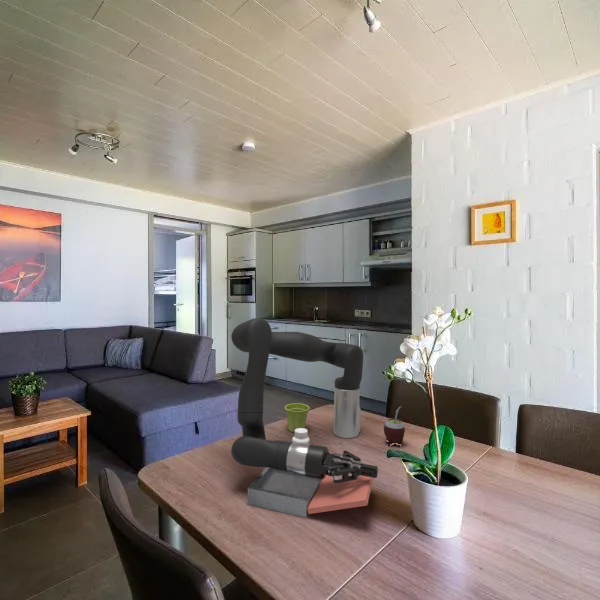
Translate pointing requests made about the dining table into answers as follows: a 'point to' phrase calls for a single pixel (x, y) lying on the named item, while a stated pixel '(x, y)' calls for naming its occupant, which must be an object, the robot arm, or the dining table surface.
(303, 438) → the pill bottle
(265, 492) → the grey square tray
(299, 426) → the plant pot
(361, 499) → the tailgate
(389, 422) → the mate gourd
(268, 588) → the dining table surface
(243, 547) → the dining table surface
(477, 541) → the dining table surface
